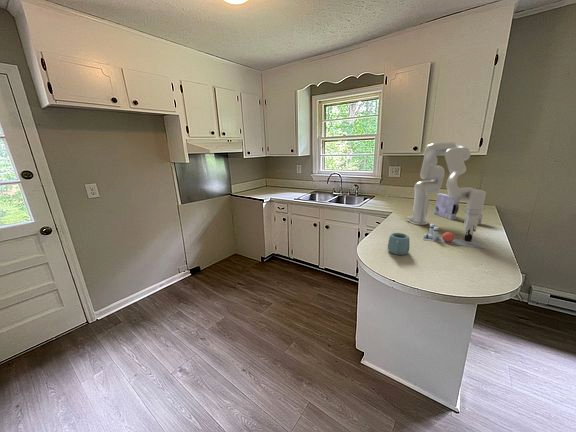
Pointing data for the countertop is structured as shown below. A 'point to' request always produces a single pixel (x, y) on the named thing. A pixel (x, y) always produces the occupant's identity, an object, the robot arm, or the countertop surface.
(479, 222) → the container
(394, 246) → the mug
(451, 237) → the ball
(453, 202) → the cake pan box
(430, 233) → the pin
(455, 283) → the countertop surface
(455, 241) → the lane
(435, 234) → the pin
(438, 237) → the front pin
